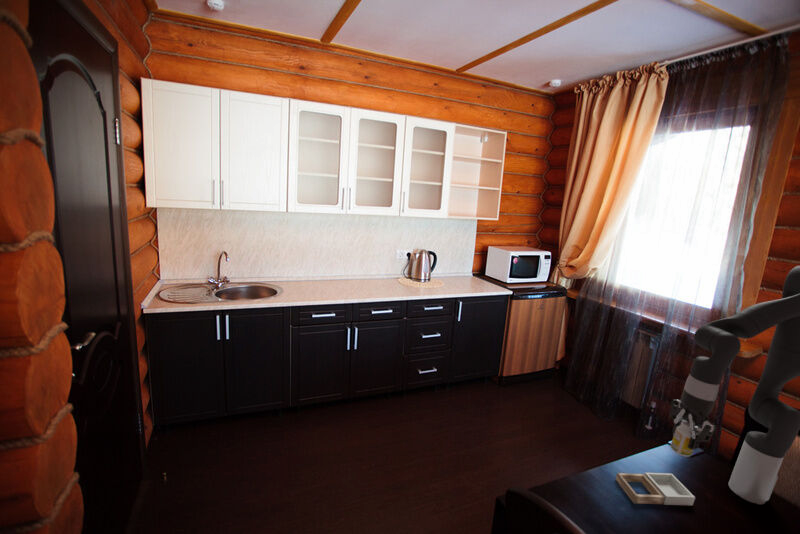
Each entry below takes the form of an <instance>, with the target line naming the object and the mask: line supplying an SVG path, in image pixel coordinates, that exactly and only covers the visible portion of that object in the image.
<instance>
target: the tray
mask: <svg viewBox="0 0 800 534" xmlns="http://www.w3.org/2000/svg"><path fill="white" fill-rule="evenodd" d="M643 474H644V475H645V476H646V477H647V478H648V479H649V481H650V482H651V483H652V484H653V485H654V486H655V487H656V488H657V490H658V491H659V492H660V493H661V494H662V495H663V496H664V500H663V503H662V505H665V506H670V505H671V506H693V505H694V502H695V500H696V496H695V495H693V494H692V492H690V490H689V489H688V488H687V487H686V486H685V485H684V484H683V483H682V482H681V481H680V480H679V479H678V478H677V477H676V476H675V475H674V474H673V473H672V472H671V473H668V472H667V473H665V472H644V473H643Z"/></svg>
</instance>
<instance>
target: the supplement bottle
mask: <svg viewBox="0 0 800 534" xmlns="http://www.w3.org/2000/svg"><path fill="white" fill-rule="evenodd" d="M695 427H699V426H695ZM691 437H692V430H691V429H690V424H689V423H688V422H687V421H685V420H682V422H681V426H678V427H677V428H676V430H675V433H674V435H673V437H672V440H671V443H670V448H671V451H673V452H674V453H676V454H677V455H679V456H682V457H685V458H686V457H691V456H692V455H693V451H694V450H693V449H689V448H688V445H689V442H690V439H691Z"/></svg>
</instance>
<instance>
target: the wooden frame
mask: <svg viewBox="0 0 800 534" xmlns="http://www.w3.org/2000/svg"><path fill="white" fill-rule="evenodd" d="M644 474H645V473H631V472H630V473H629V472H626V473H624V472H617V473H616V476H615V481H616V482H617V483H618V485H619V486H620V487H621V488H622V490H623V491H624V492H625V493H626V495H627V496H628V497H629V498H630V500H631V501H632V503H633V504H648V505H663V500H664V496H663V495H662V494H661V493H660V492H659V491H658V490H657V488H656V487H655V486H654V485H653V484H652V483H651V482H650V481H649V479H648V478H647V477H646V476H645V475H644ZM629 483H641V485H643V486H644V488H645V489H646V490H647V491H648V492H649V494H640V493H639V494H638V493H636V491H635V490H634V489H633V488H632V486H631V485H630V484H629Z"/></svg>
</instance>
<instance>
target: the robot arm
mask: <svg viewBox="0 0 800 534" xmlns="http://www.w3.org/2000/svg"><path fill="white" fill-rule="evenodd" d="M772 327H775V328H774V329H775V330H774V333H773V336H772V338H771V341H770V345H769V349H768V352H767V358H766V360H765V361H766V362H765V364H764V367H763V370H762V373H761V376H760V379H759V381H758V384H757V386H756V388H755V390H754V392H753V394H752V397H751V399H750V402H749V405H748V415H749V416H750V417H751V419H752V420H754V421H755V422H757V423H758V424H760V425H761V426H763V427H765V428H766V429H768V431H767V433H765V432H762V431H756V430H754V431H753V430H751V431H748V432H747V433H746V436H745V438H744V440H743V443H742V446H741V449H740V451H739V454H738V457H737V459H736V461H735V465H734V467H733V469H732V472H731V475H730V477H729V478H730V479H729V481H728V482H727V483H728V485H727V486H729V488H730V490H731V491H732V492H733V493H734V494H736V495H737V496H738V497H740V498H741V499H743V500H746V501H747V502H750V503H753V504H755V503H756V505H764V504H766V502H769V500H770V498H771V495H772V493H773V491H774V488H775V485H776V484H777V481H778V478H779V476H778V473H779V470H780V468H781V466H782V463H783V460H784V458H785V455H786V453H787V452H789V450H790V449H791V447H792V446H793V444H794V441H795V440H796V438H797V436H798V434H799V431H800V411H799V410H798V409H795V408H794V407H793V406H791V405H789V404H787V403H785V402H783V401H781V400H780V399H779V398H780V393H781V391H782V389H783V388H784V386H785V385H786V384H787V383H788V382H790V381H792V380H793V379H796V378H798V377H800V265H796V266H795V267H793V268H792V269H791V270H790V271H788V274H787V275H786V278H785V280H784V282H783V289H782V292H781V298H779V299H772V300H769V301H763V302H759V303H756V304H753V305H751V306H748V307H746V308H744V309H742V310H740V311H739V312H737V313H734V314H733V315H732V316H729V317H725V318H721V319H717V320H713V321H711V322H707V323H704V324H703V325H701V326H700V327H698V328H697V329H696V331H695V332H694V335H693V339H694V342H695V343H696V344H697V345H698V346H699V347H701V348H702V349H705V350H706V351H708V352H710V353H712V354H711V355H710V356H709V357H708V356H704V355H703V356H701V355H700V356H697V357H695V358H694V360H693V362H692V365H691V369H690V371H689V374H688V377H687V378H686V382H685V383H684V387H683V391H682V394H681V395H680V396H681V397H680V399H671V405H670V412H669V418H670V419H673V423H674V424H673V428H672V435H673V436H674V433H675V430H676V428H677V427H678V426H681V422H682V420H685V421H687V422H688V423H689V424H690V429H691V430H692V437H691V439H690V442H689V445H688V448H689V449H693V451H694V450H698V449H699V446H700V444H701V442H704V443H705V442H707V443H708V442H710V439H712V437H713V435H714V434H715V433H716V431H717V426H716V425H714V424H711V422H709V415H710V413H712V412H713V408H714V406H715V402H716V401H717V400H716V399H717V397H718V393H719V390H720V389H719V388H720V384H721V383H722V382H721V381H722V378H723V375H724V373H725V371H726V370H727V368H728V367H729V366H730V364H732V362H733V361H734V359H735V358H736V357H737V355H738V354H739V353H740V351H741V349H742V348H741V347H742V344H741V340H740V339H744V340H746V339H747V340H748V339H752V338H754V337H756V336H758V335H760V334H762V333H764V332H765V331H767V330H769V329H770V328H772ZM695 426H698V427H695Z"/></svg>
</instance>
